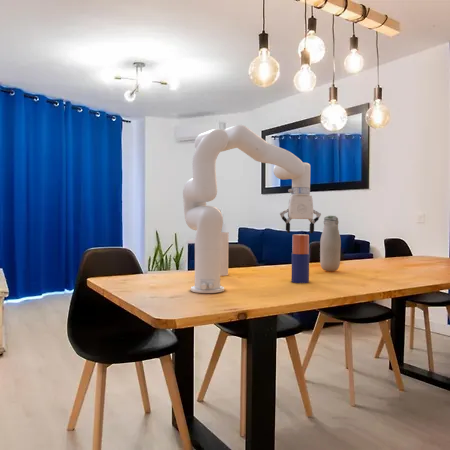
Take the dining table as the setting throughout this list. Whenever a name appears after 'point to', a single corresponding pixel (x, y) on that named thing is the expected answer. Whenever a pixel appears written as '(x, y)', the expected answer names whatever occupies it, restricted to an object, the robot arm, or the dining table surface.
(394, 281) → the dining table surface
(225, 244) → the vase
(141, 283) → the dining table surface
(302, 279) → the water bottle
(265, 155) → the robot arm
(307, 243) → the cup
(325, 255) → the grey bottle
